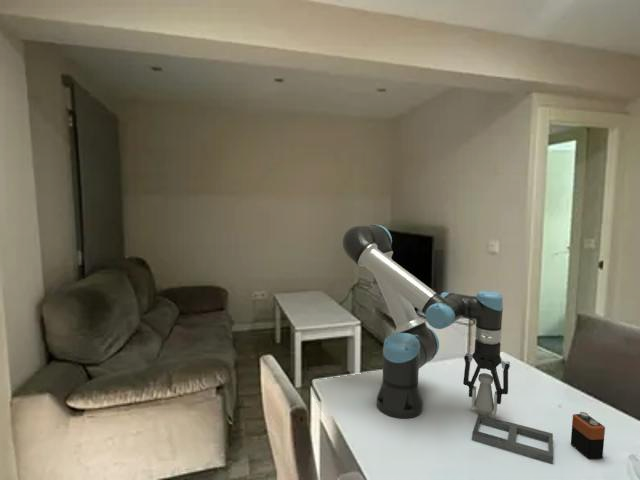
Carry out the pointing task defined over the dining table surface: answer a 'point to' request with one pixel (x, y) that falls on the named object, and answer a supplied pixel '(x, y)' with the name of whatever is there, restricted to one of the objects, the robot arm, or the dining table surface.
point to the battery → (587, 435)
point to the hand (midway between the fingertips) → (484, 409)
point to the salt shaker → (484, 395)
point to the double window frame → (514, 438)
